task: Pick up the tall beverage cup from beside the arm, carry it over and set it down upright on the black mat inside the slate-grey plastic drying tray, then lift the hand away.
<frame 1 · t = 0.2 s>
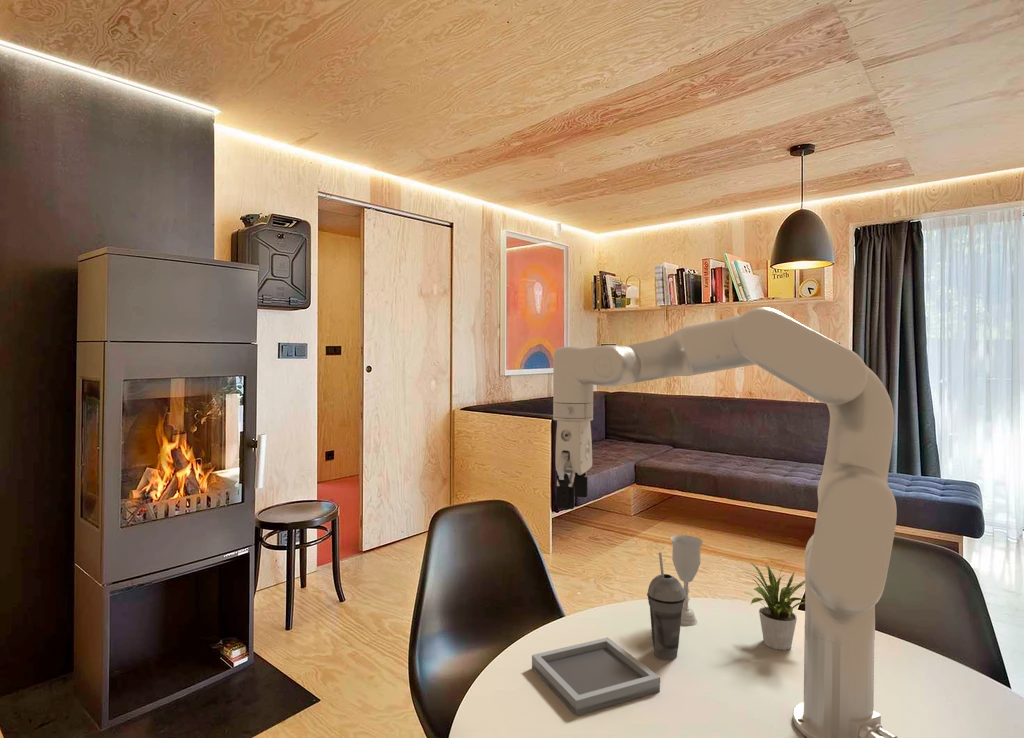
hand: (572, 502, 109), 31 cm above the table, tool pointing down, fingers open, 9 cm apart
beverage cup: (665, 654, 114), on the table
chalice: (685, 621, 129), on the table
house plant: (770, 642, 119), on the table
drying tray: (593, 679, 105), on the table
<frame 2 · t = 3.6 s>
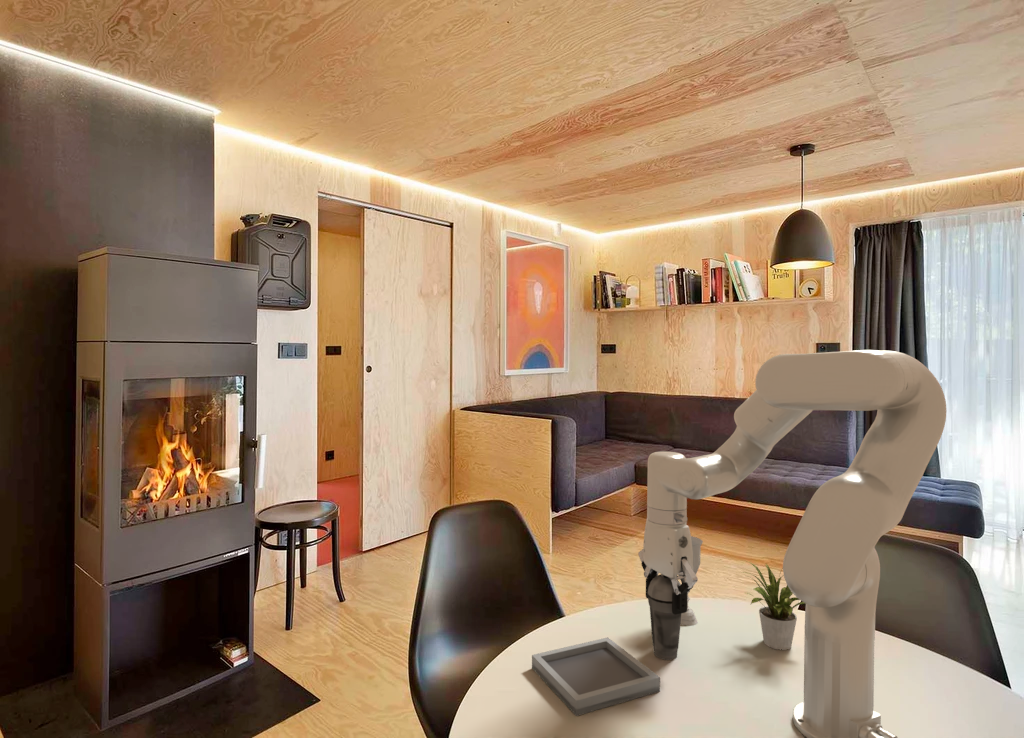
hand: (665, 604, 114), 10 cm above the table, tool pointing down, fingers closed on beverage cup, 7 cm apart
beverage cup: (665, 654, 114), on the table, touching gripper
everything else where it was.
when the fingers open (13 cm above the table, at t = 10.9 s): beverage cup drops 1 cm, resting on drying tray.
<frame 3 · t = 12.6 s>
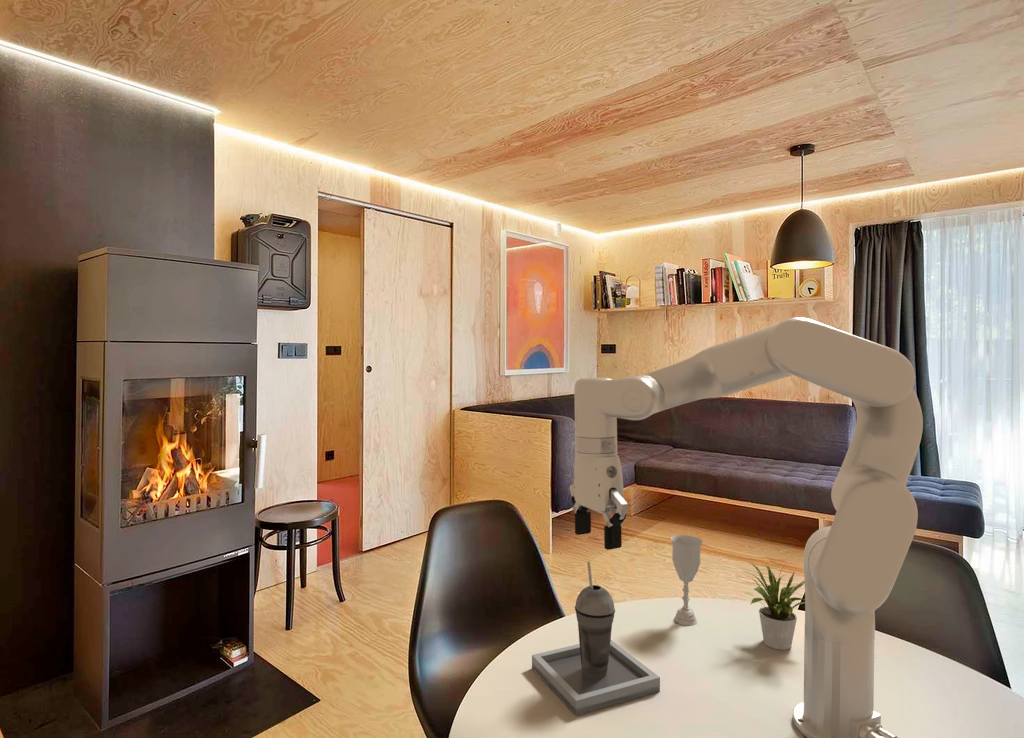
hand: (597, 540, 104), 25 cm above the table, tool pointing down, fingers open, 9 cm apart
beverage cup: (594, 673, 105), point 1 cm above the table, touching drying tray
everything else where it was.
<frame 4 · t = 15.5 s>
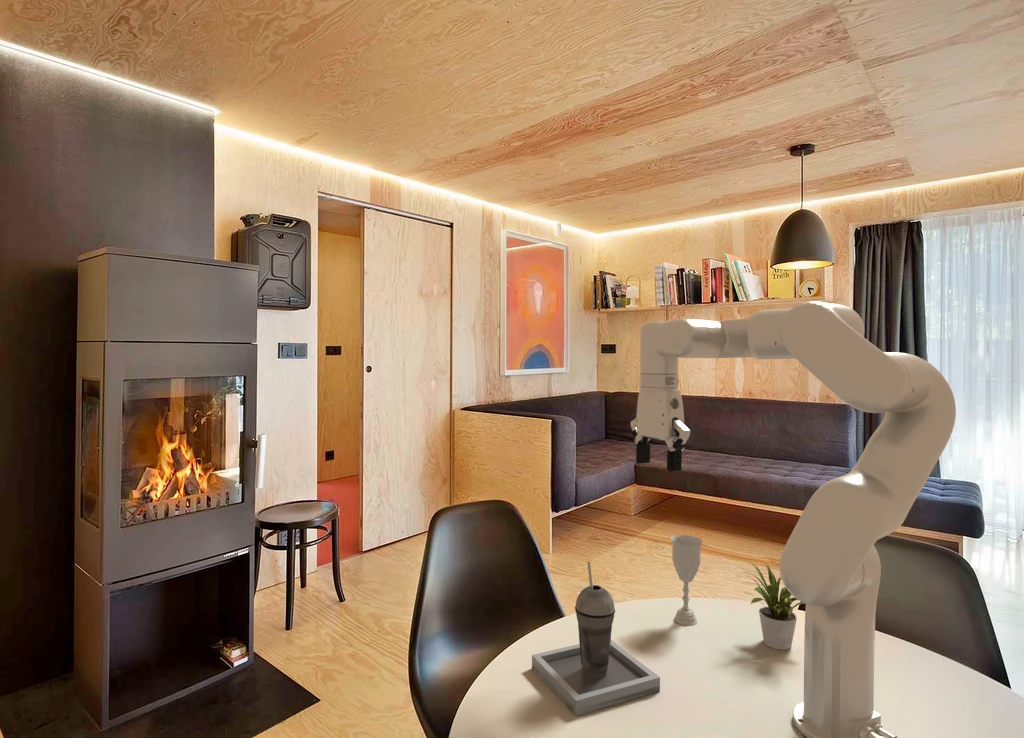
hand: (658, 466, 117), 36 cm above the table, tool pointing down, fingers open, 9 cm apart
nothing on the table moved.
at the end: beverage cup inside the target area on the drying tray (0.2 cm from its centre), point 1.1 cm above the drying tray's base; beverage cup tilted 0°; the gripper is holding nothing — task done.
